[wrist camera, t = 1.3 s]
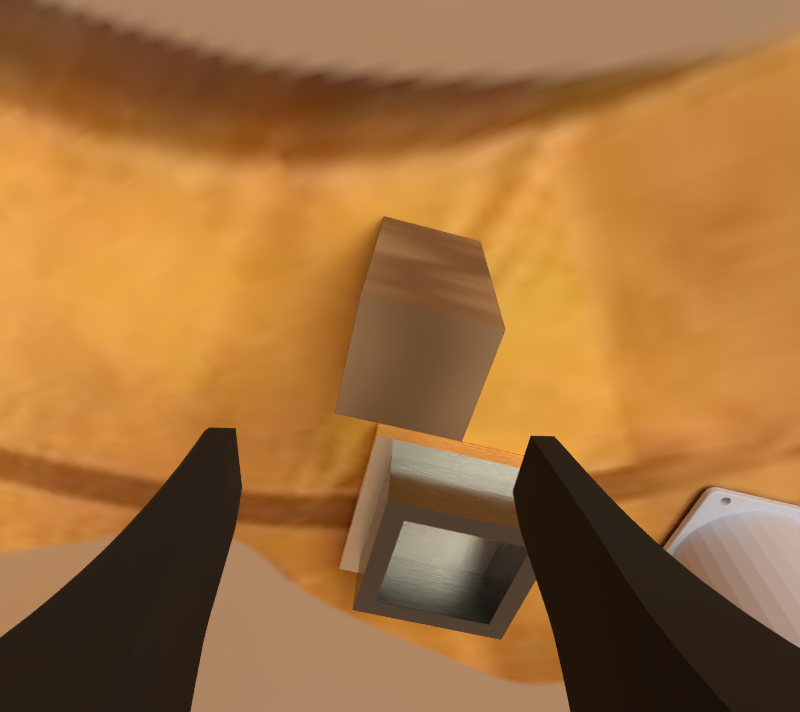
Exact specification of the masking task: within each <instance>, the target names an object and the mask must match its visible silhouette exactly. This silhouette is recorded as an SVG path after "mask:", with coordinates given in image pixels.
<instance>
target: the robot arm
mask: <svg viewBox="0 0 800 712" xmlns="http://www.w3.org/2000/svg"><path fill="white" fill-rule="evenodd" d="M241 490H242V483H241V474H240V465H239V456H238V446H237V437H236V428H208V429H207V430H205V431H204V432H203V434H202V435H201V437H200V438H199V440H198V441H197V442H196V444H195V445H194V446H193V448H192V449H191V451H190V452H189V453H188V455H187V456H186V457H185V459H184V460H183V461H182V462H181V464H180V465H179V466H178V468H177V469H176V470H175V471H174V473H173V474H172V475H171V476H170V478H169V479H168V480H167V481H166V482H165V484H164V485H163V486H162V487H161V488H160V490H159V491H158V492H157V493H156V494H155V496H154V497H153V498H152V499H151V500H150V501H149V503H148V504H147V505H146V506H145V507H144V508H143V509H142V510H141V511H140V513H139V514H138V515H137V516H136V517H135V518H134V519H133V520H132V521H131V522H130V523H129V524H128V526H127V527H126V528H125V529H124V530H123V531H122V532H121V533H120V534H119V535H118V536H117V537H116V538H115V539H114V540H113V541H112V542H111V543H110V544H109V545H108V546H107V547H106V548H105V549H104V550H103V551H102V552H101V553H100V554H99V555H98V556H97V557H96V558H95V559H94V560H93V561H92V562H90V563H89V564H88V565H87V566H86V567H85V568H84V569H83V570H82V571H81V572H80V573H79V574H78V575H76V576H75V577H74V578H73V579H72V580H71V581H69V582H68V583H67V584H66V585H65V586H64V587H63V588H61V589H60V591H58V592H57V593H56V594H55V595H53V596H52V597H51V598H50V599H49V600H48V601H46V602H45V603H44V604H43V605H41V606H40V607H39V608H38V609H37V610H36V611H34V612H33V613H32V614H31V615H29V616H28V617H27V618H25V619H24V620H23V621H21V622H20V623H19V624H17V625H16V626H15V627H14V628H12V629H11V630H10V631H8V632H7V633H6V634H4V635H3V636H2V637H1V638H0V712H190V710H191V705H192V699H193V694H194V688H195V683H196V677H197V673H198V667H199V662H200V657H201V652H202V646H203V641H204V637H205V633H206V629H207V625H208V621H209V617H210V613H211V610H212V607H213V603H214V600H215V597H216V593H217V589H218V586H219V583H220V579H221V576H222V573H223V569H224V566H225V562H226V558H227V555H228V552H229V548H230V545H231V541H232V538H233V534H234V530H235V526H236V520H237V515H238V509H239V503H240V496H241ZM513 496H514V502H515V507H516V513H517V517H518V522H519V527H520V531H521V534H522V537H523V541H524V544H525V547H526V550H527V553H528V556H529V559H530V562H531V565H532V568H533V571H534V574H535V577H536V580H537V583H538V586H539V589H540V592H541V595H542V598H543V601H544V604H545V607H546V610H547V613H548V616H549V620H550V623H551V627H552V630H553V634H554V638H555V642H556V647H557V651H558V655H559V660H560V664H561V669H562V673H563V678H564V682H565V687H566V692H567V697H568V701H569V707H570V712H800V506H797V505H793V504H788V503H784V502H780V501H775V500H771V499H767V498H762V497H758V496H754V495H749V494H745V493H741V492H736V491H732V490H728V489H723V488H719V487H712V488H709V489H707V490H706V491H705V492H704V493H703V494H702V495H701V497H700V498H699V499H698V501H697V502H696V504H695V505H694V506H693V508H692V509H691V510H690V512H689V513H688V514H687V516H686V517H685V518H684V520H683V521H682V522H681V524H680V525H679V527H678V528H677V529H676V531H675V532H674V533H673V535H672V536H671V537H670V539H669V540H668V541H667V543H666V544H665V546H664V547H663V548H662V547H661V546H660V545H659V544H658V543H657V542H655V541H654V540H653V539H652V538H651V537H650V536H649V535H648V534H647V533H646V532H645V531H644V530H643V529H641V528H640V527H639V526H638V525H637V524H636V523H635V522H634V521H633V520H632V519H631V518H630V517H629V516H628V515H627V514H626V513H625V512H624V511H623V510H622V509H621V508H620V507H619V506H618V505H617V504H616V503H615V502H614V501H613V500H612V499H611V498H610V497H609V496H608V495H607V494H606V493H605V492H604V490H603V489H602V488H601V487H600V486H599V485H598V484H597V483H596V482H595V481H594V480H593V479H592V478H591V476H590V475H589V474H588V473H587V472H586V471H585V470H584V469H583V468H582V467H581V465H580V464H579V463H578V462H577V461H576V460H575V459H574V458H573V457H572V455H571V454H570V453H569V452H568V451H567V450H566V449H565V448H564V447H563V445H562V444H561V443H560V442H559V441H558V440H557V439H556V438H555V437H554V436H531V437H530V440H529V443H528V446H527V449H526V452H525V455H524V458H523V461H522V464H521V467H520V470H519V473H518V476H517V479H516V482H515V485H514V488H513ZM723 498H724V499H723Z"/></svg>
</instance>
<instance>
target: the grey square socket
mask: <svg viewBox="0 0 800 712" xmlns="http://www.w3.org/2000/svg"><path fill="white" fill-rule="evenodd" d="M523 458H524V456H521V455H517V454H512V453H508V452H504V451H499V450H495V449H491V448H486V447H482V446H477V445H473V444H469V443H464V442H459V441H455V440H451V439H446V438H442V437H438V436H433V435H429V434H424V433H420V432H416V431H411V430H407V429H403V428H398V427H394V426H389V425H385V424H381V423H378V426H377V430H376V434H375V437H374V441H373V444H372V448H371V451H370V455H369V458H368V462H367V466H366V469H365V473H364V476H363V480H362V483H361V487H360V491H359V494H358V498H357V501H356V505H355V508H354V512H353V516H352V519H351V523H350V526H349V530H348V533H347V537H346V541H345V544H344V548H343V551H342V555H341V561H340V566H339V569H342V570H347V571H352V572H357V573H358V575H357V582H356V589H355V596H354V603H353V610H356V611H361V612H366V613H371V614H376V615H381V616H386V617H391V618H396V619H401V620H406V621H411V622H416V623H421V624H426V625H431V626H436V627H441V628H446V629H451V630H456V631H461V632H465V633H470V634H475V635H480V636H485V637H490V638H495V639H500V640H501V639H502V637H503V635H504V634H505V632H506V630H507V628H508V627H509V625H510V623H511V622H512V620H513V618H514V616H515V615H516V613H517V611H518V610H519V608H520V606H521V604H522V603H523V601H524V599H525V598H526V596H527V594H528V592H529V591H530V589H531V587H532V586H533V584H534V582H535V580H536V577H535V574H534V571H533V568H532V565H531V562H530V559H529V556H528V553H527V550H526V547H525V544H524V541H523V537H522V534H521V531H520V527H519V522H518V517H517V513H516V507H515V502H514V496H513V488H514V485H515V482H516V479H517V476H518V473H519V470H520V467H521V464H522V461H523Z"/></svg>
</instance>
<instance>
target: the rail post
mask: <svg viewBox="0 0 800 712" xmlns="http://www.w3.org/2000/svg"><path fill="white" fill-rule="evenodd" d="M504 332H505V326H504V323H503V319H502V316H501V312H500V309H499V305H498V302H497V298H496V294H495V291H494V287H493V284H492V280H491V277H490V273H489V270H488V266H487V263H486V259H485V256H484V252H483V249H482V245H481V242H480V241H477V240H473V239H469V238H466V237H462V236H458V235H454V234H450V233H446V232H442V231H439V230H435V229H431V228H427V227H423V226H419V225H415V224H412V223H408V222H404V221H400V220H396V219H392V218H388V217H385V216H384V219H383V223H382V226H381V229H380V233H379V236H378V239H377V243H376V246H375V249H374V252H373V256H372V259H371V262H370V266H369V269H368V272H367V276H366V279H365V282H364V286H363V289H362V292H361V296H360V301H359V305H358V309H357V314H356V318H355V323H354V327H353V332H352V336H351V341H350V345H349V350H348V354H347V359H346V363H345V368H344V372H343V376H342V381H341V385H340V390H339V394H338V399H337V403H336V408H335V412H334V413H337V414H341V415H346V416H350V417H354V418H359V419H363V420H368V421H372V422H376V423H381V424H385V425H389V426H394V427H398V428H403V429H407V430H411V431H416V432H420V433H424V434H429V435H433V436H438V437H442V438H446V439H451V440H455V441H459V442H462V440H463V437H464V435H465V432H466V429H467V427H468V424H469V422H470V419H471V417H472V414H473V411H474V409H475V406H476V404H477V401H478V399H479V396H480V394H481V391H482V388H483V386H484V383H485V381H486V378H487V376H488V373H489V371H490V368H491V365H492V363H493V360H494V358H495V355H496V353H497V350H498V348H499V345H500V342H501V340H502V337H503V335H504Z"/></svg>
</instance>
